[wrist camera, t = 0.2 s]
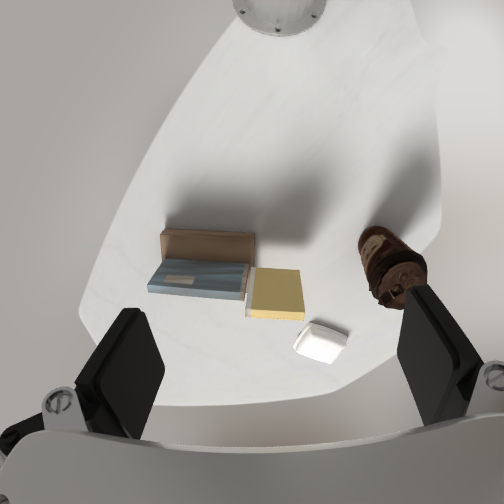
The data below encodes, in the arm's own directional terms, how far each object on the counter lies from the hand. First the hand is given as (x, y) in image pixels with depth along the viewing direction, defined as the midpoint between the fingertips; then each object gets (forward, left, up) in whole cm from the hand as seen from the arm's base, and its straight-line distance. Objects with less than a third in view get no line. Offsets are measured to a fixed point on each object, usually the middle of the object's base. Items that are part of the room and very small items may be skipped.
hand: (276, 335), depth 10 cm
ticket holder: (+15, -9, -36) cm, 40 cm away
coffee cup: (+11, +17, -36) cm, 41 cm away
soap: (+31, +11, -36) cm, 49 cm away
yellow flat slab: (+15, +1, -32) cm, 36 cm away
